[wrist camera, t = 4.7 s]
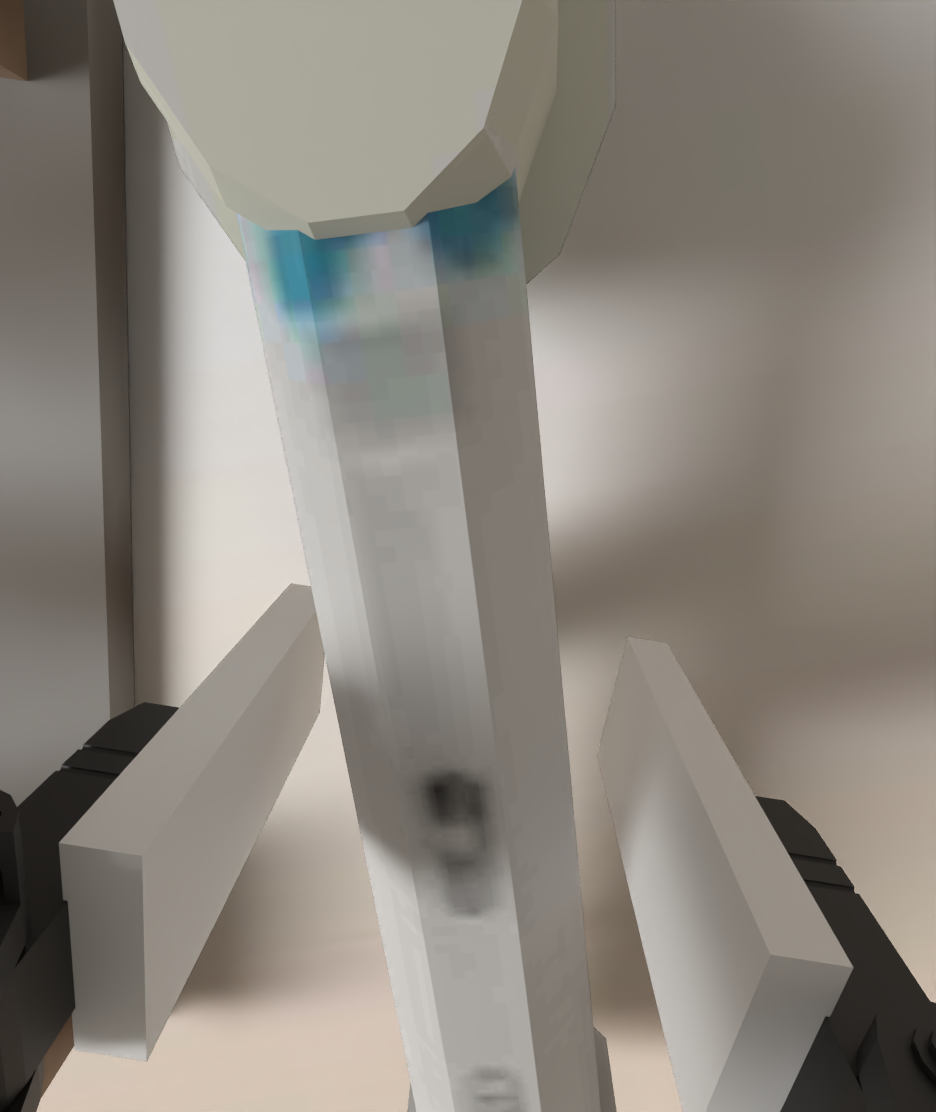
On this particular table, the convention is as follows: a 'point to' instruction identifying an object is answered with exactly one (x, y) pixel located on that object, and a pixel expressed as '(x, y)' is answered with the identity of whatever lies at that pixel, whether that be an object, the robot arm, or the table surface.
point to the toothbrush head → (421, 465)
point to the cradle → (62, 394)
